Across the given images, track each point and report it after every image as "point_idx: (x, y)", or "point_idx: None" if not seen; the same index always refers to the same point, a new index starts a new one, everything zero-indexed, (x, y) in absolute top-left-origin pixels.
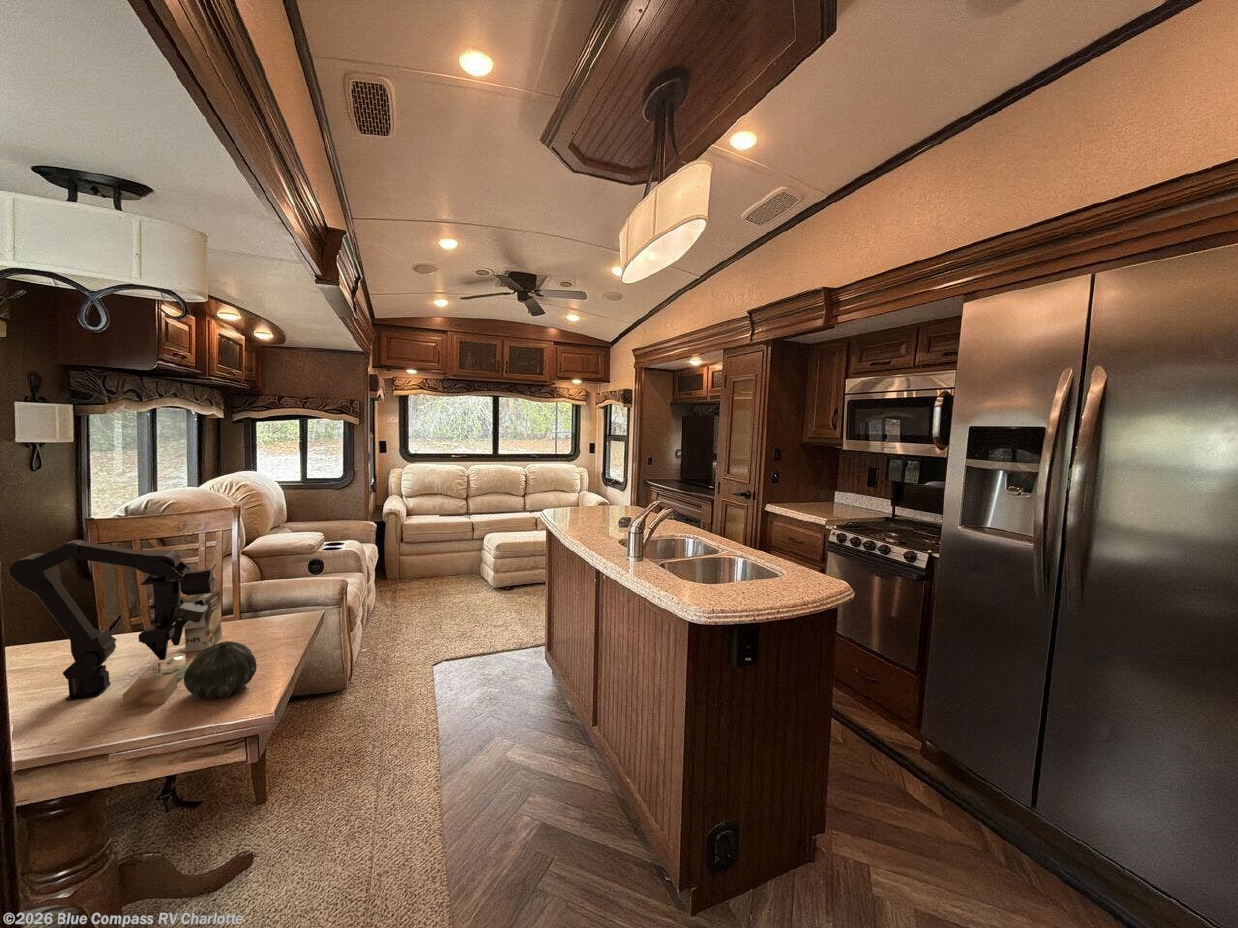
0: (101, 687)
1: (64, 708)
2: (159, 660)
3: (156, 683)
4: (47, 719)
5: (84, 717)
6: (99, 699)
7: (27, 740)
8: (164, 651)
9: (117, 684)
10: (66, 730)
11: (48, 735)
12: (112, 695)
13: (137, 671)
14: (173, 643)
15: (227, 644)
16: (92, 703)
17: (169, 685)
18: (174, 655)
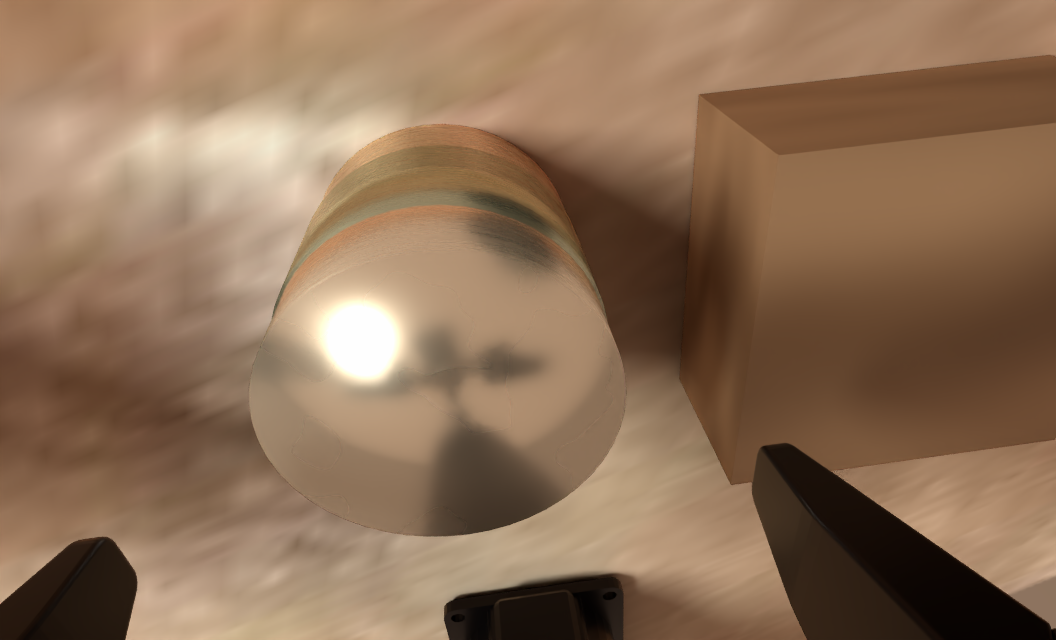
0: (577, 617)
1: (711, 627)
2: (485, 507)
3: (982, 262)
4: None
5: (904, 500)
6: (668, 547)
7: (1016, 585)
8: (980, 587)
9: (457, 566)
10: (1029, 499)
11: (1027, 540)
12: (636, 513)
13: (244, 563)
14: (128, 624)
15: None
16: (712, 552)
17: (1000, 108)
18: (338, 418)
